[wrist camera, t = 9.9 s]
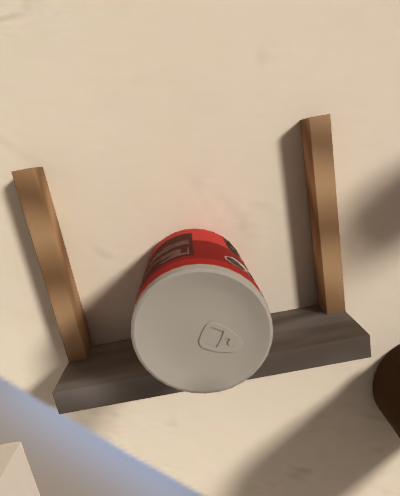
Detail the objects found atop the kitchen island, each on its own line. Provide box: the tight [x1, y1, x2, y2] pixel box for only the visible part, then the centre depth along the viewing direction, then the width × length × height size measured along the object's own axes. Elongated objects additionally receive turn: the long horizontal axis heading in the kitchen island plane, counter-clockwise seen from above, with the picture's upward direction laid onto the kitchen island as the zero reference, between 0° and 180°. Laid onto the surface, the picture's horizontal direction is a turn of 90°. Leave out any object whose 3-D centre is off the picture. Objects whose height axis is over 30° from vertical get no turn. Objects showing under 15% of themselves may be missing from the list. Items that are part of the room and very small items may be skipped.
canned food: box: [131, 229, 273, 393], centre depth 25 cm, size 8×8×11 cm
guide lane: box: [12, 114, 371, 414], centre depth 27 cm, size 17×23×6 cm
